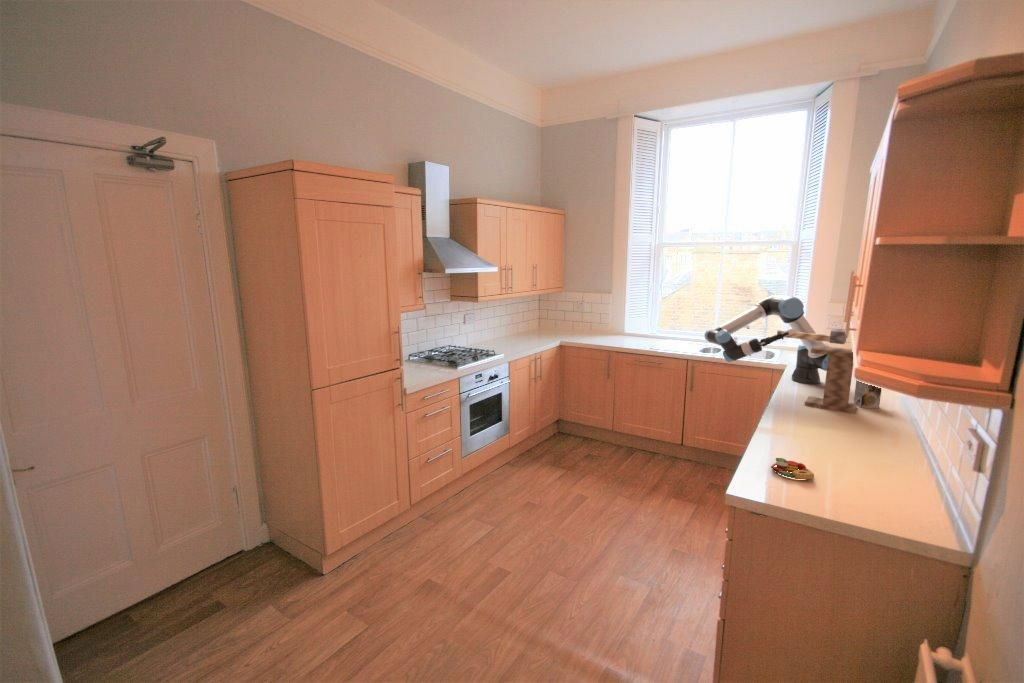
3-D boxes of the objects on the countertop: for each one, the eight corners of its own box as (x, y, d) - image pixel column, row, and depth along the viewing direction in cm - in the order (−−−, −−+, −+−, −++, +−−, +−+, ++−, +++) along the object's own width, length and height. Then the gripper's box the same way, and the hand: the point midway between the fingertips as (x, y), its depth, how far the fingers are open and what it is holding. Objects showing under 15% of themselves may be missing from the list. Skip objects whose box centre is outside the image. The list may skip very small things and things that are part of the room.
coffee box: (871, 404, 241) (875, 374, 238) (879, 408, 235) (883, 377, 232) (852, 403, 242) (856, 374, 239) (860, 407, 236) (864, 377, 233)
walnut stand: (804, 405, 241) (811, 349, 235) (808, 399, 250) (814, 345, 244) (854, 413, 227) (862, 354, 222) (856, 407, 236) (864, 350, 231)
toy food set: (814, 486, 157) (815, 477, 157) (770, 477, 163) (771, 469, 163) (811, 470, 169) (812, 462, 168) (770, 462, 175) (771, 454, 174)
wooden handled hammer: (775, 337, 246) (776, 326, 245) (779, 335, 253) (780, 324, 252) (843, 344, 227) (845, 332, 226) (846, 341, 234) (847, 329, 233)
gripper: (758, 350, 264) (802, 334, 249) (751, 355, 252) (796, 338, 237) (752, 338, 265) (795, 321, 250) (745, 343, 253) (789, 325, 238)
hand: (795, 330), depth 244 cm, fingers closed on wooden handled hammer, 3 cm apart
